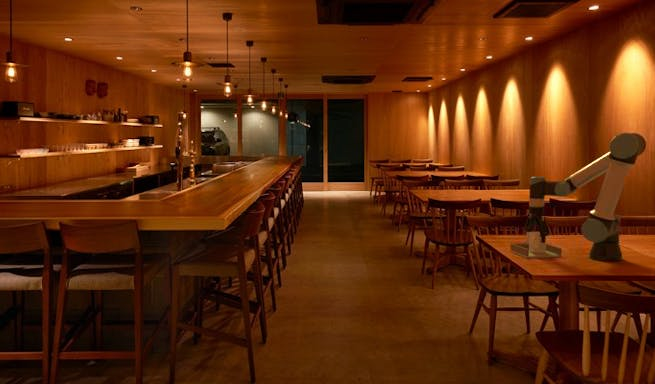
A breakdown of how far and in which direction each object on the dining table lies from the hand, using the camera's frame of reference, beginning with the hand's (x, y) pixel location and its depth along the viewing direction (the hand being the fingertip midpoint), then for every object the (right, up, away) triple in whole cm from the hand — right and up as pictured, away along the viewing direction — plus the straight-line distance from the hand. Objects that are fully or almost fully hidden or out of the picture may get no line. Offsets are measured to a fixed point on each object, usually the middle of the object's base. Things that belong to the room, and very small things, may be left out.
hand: (535, 246), depth 303 cm
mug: (0, -3, -1) cm, 4 cm away
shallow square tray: (0, -4, 0) cm, 4 cm away
